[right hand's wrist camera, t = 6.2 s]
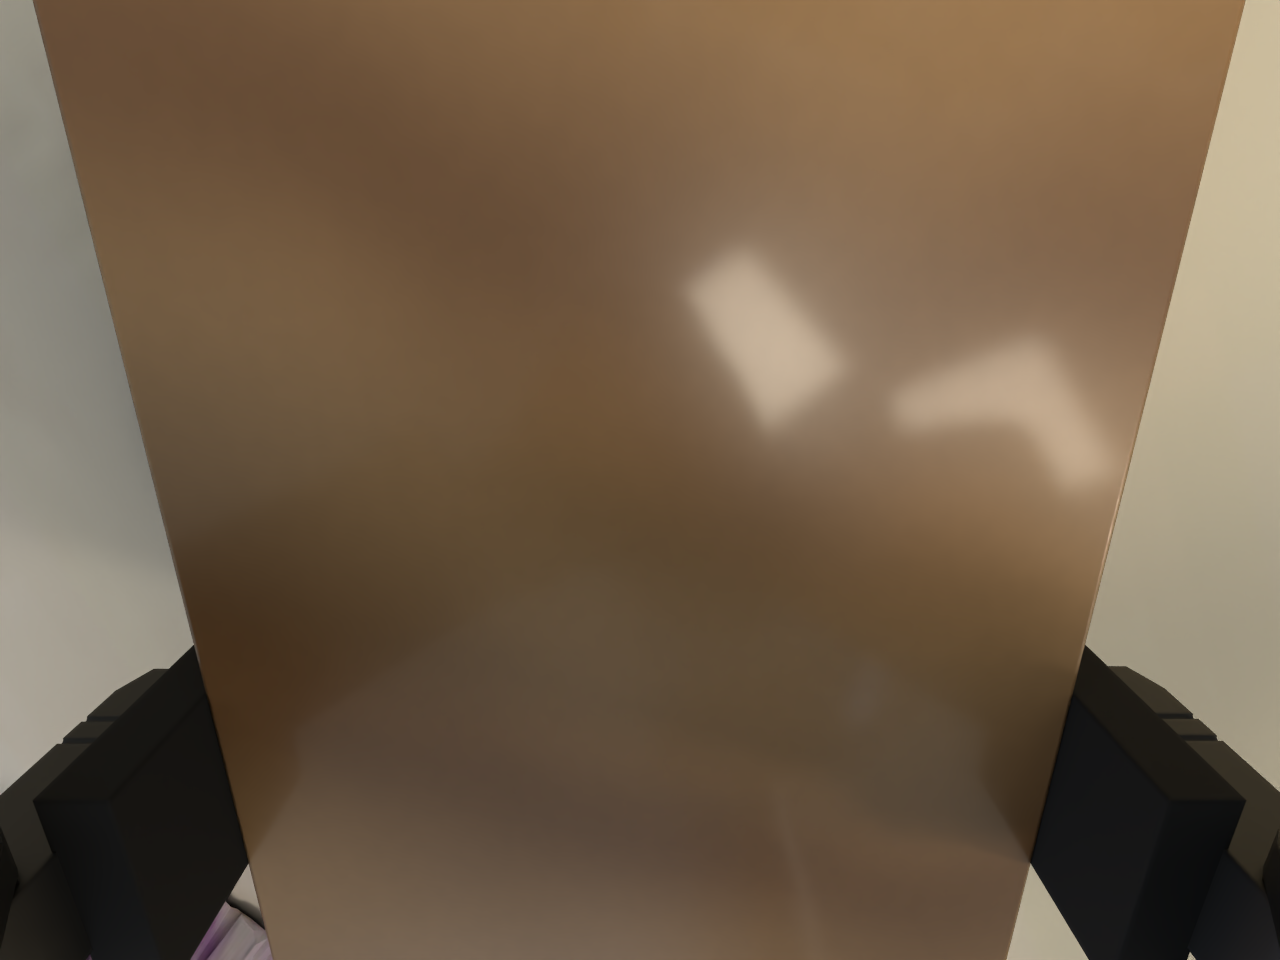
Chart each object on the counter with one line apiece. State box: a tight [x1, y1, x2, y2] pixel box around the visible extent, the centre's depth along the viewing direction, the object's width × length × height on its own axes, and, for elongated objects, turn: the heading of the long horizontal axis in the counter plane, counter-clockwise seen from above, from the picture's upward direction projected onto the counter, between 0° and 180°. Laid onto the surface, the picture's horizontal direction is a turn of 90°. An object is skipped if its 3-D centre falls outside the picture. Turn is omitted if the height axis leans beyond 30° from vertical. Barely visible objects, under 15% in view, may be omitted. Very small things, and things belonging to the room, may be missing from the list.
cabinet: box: [33, 0, 1245, 960], centre depth 10 cm, size 21×10×8 cm, turn 0°
